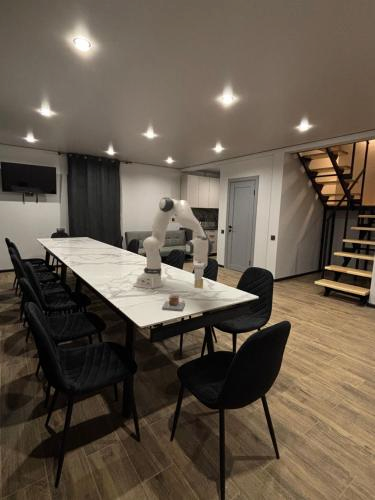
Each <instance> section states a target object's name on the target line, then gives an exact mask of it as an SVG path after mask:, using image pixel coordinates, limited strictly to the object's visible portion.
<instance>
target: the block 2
mask: <svg viewBox="0 0 375 500" xmlns="http://www.w3.org/2000/svg"><path fill="white" fill-rule="evenodd" d="M193 284H194V286H193V287H194V289H203V287H204V278H202V279H201V281H200V286H197V281H196V280H195V279H194V283H193Z"/></svg>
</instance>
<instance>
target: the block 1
mask: <svg viewBox="0 0 375 500" xmlns="http://www.w3.org/2000/svg"><path fill="white" fill-rule="evenodd" d="M168 299H169V306H178V304H179V299H180V296H179V295H172V294H171V295H170V296H169V298H168Z"/></svg>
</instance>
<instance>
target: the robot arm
mask: <svg viewBox="0 0 375 500" xmlns="http://www.w3.org/2000/svg"><path fill="white" fill-rule="evenodd" d="M158 203H159V204H158V206H159V208H158V210H157V212H156V215H155V217H154V220H153V224H152V226H151V227H152V232H151V236H148V237H146V238H145V239H144V240H143V242H142V246H143V249H144V250H145V251H144V252H145V256H146V266H145V267H144V268H143V273H141V274H140V275H139V276H138V277H137V278H136V282H134V283H133V287H135V288H141V289H142V288H143V289H150V290H151V289H155V288H161V287H162V286H163V281H162V257H161V255H160V250H161V249H162V248H163V247H164V246H165V244H166V243H165V240H166V239H165V238H166V233H167V229H168V226H169V225H170V222H171V217H172V216H175V217H176V218H177V222H178V224H179V225H180V226H181V227H184V228H186V229H190V230H191V231H193V232H195V233H196V235H197V236H195V237H194V238H193V239H191V240H188V241H186V244H185V247H184V250H185V252H186V254H187V255H190V256H193V258H192V260H193V262H192V265H193V268H194V269H193V270H194V281H195V280H196V281H197V286H200V281H201V279H203V275H204V270H205V269H206V267H207V266H208V256H209V255H211V253H213V250H214V245H213V243H212V241H211V240H210V238H209V236H208V235H207V233H206V231H205V229H204V227H203V225H202V223H201V222H200V221H199V220H198V219H197V218H196V216H195V215H194V212H193V211H192V208H191V206H190V203H189V202H188V201H187V200H185V199H181V200H178V199H174V198H170V197H162V199H160V201H159V202H158Z"/></svg>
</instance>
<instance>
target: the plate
mask: <svg viewBox="0 0 375 500" xmlns="http://www.w3.org/2000/svg"><path fill="white" fill-rule="evenodd" d="M185 303H186V302H185V301H184V302H179V304H178V306H169V301H167V300H166V301H164V304H163V305H162V307H161V310H163V311H164V310H165V311H167V310H168V311H179V312H182V311H183V309H184V307H185Z"/></svg>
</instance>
